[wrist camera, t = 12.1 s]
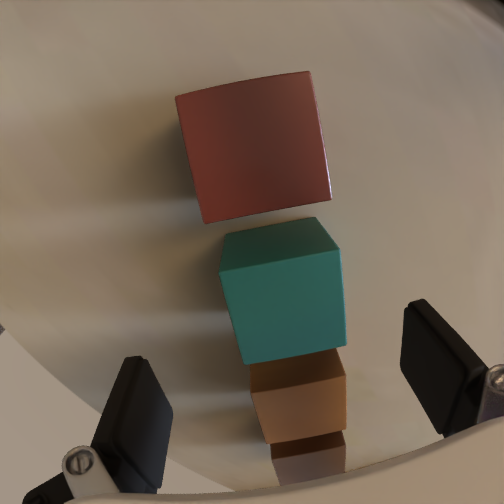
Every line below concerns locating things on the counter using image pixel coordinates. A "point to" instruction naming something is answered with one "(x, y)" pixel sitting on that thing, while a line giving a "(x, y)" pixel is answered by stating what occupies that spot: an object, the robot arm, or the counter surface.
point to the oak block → (299, 396)
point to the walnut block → (309, 458)
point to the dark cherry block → (255, 146)
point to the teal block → (284, 290)
